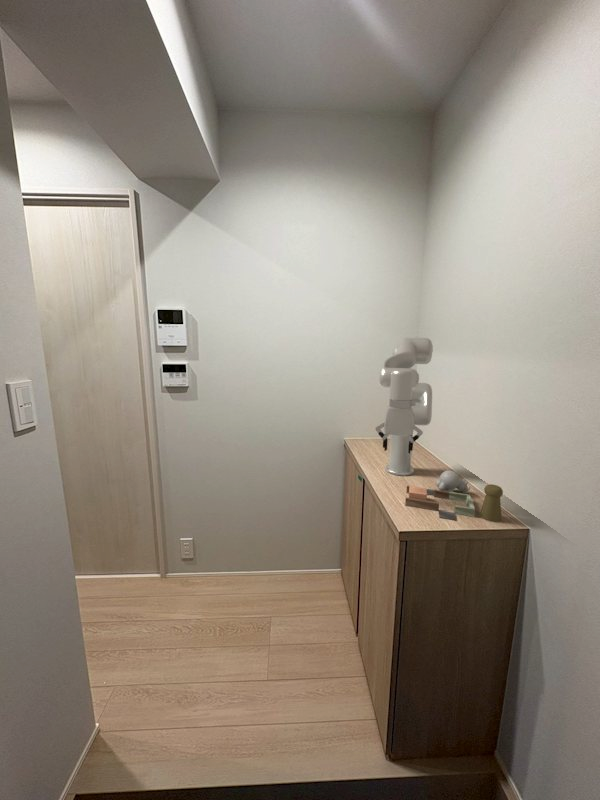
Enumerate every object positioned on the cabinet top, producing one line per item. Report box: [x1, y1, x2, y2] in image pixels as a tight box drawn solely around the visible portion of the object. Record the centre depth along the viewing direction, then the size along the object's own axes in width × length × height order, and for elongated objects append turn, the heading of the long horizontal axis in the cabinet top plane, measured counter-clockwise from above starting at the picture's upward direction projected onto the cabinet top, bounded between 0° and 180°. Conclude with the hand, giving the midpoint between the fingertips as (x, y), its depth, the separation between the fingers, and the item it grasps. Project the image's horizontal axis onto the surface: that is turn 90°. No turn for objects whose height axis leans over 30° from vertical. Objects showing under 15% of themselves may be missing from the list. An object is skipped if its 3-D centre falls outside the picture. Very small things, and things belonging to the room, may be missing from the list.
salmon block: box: [408, 485, 428, 501], centre depth 119 cm, size 6×6×4 cm
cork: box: [479, 483, 504, 523], centre depth 107 cm, size 6×6×11 cm
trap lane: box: [404, 485, 476, 522], centre depth 117 cm, size 22×22×2 cm
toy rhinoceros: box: [435, 469, 472, 494], centre depth 126 cm, size 7×12×8 cm, turn 81°
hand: (397, 450), depth 120 cm, fingers open, 7 cm apart
